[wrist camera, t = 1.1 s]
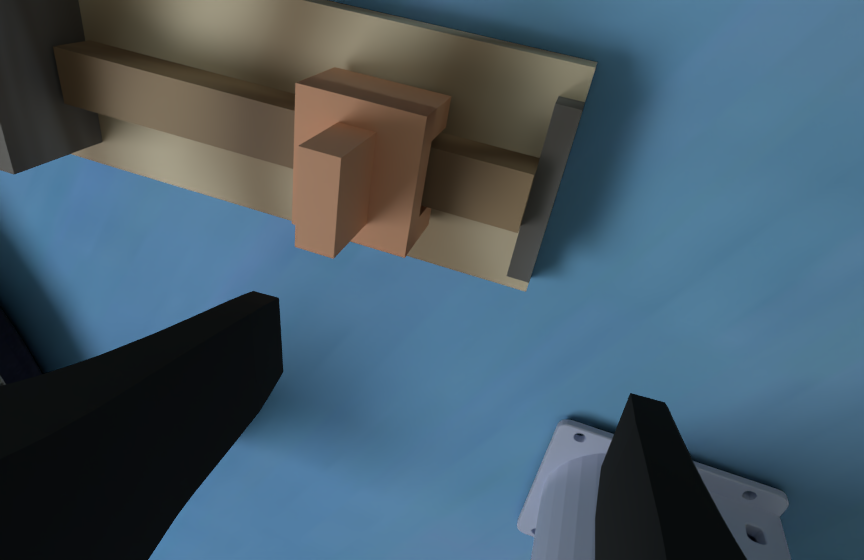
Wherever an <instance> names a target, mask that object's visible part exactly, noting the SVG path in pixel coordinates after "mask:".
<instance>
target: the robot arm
mask: <svg viewBox="0 0 864 560" xmlns="http://www.w3.org/2000/svg"><path fill="white" fill-rule="evenodd" d="M282 373H283V359H282V342H281V325H280V308H279V298H277V297H273V296H270V295H266V294H262V293H258V292H255V291H252V292H249V293H247V294H244V295H241V296H239V297H237V298H234V299H232V300H229V301H227V302H225V303H223V304H220V305H218V306H216V307H214V308H211V309H209V310H207V311H205V312H202V313H200V314H198V315H196V316H193V317H191V318H189V319H187V320H184V321H182V322H180V323H177V324H175V325H173V326H171V327H168V328H166V329H164V330H161V331H159V332H157V333H154V334H152V335H149V336H147V337H144V338H142V339H139V340H137V341H134V342H132V343H129V344H127V345H124V346H122V347H119V348H117V349H114V350H112V351H109V352H107V353H104V354H102V355H99V356H96V357H93V358H90V359H88V360H85V361H82V362H79V363H76V364H73V365H70V366H67V367H64V368H61V369H58V370H54V371H51V372H48V373H45V374H42V375H39V376H35V377H32V378H28V379H25V380H21V381H17V382H14V383H10V384H6V385H2V386H0V560H148V559H149V558H150V556H151V554H152V553H153V551H154V550H155V548H156V547H157V545H158V544H159V542H160V541H161V539H162V538H163V536H164V535H165V533H166V532H167V530H168V529H169V527H170V526H171V524H172V523H173V521H174V519H175V518H176V517H177V515H178V514H179V512H180V511H181V510H182V508H183V507H184V506H185V504H186V503H187V502H188V500H189V499H190V498H191V496H192V495H193V494H194V493H195V491H196V490H197V489H198V488H199V486H200V485H201V484H202V483H203V481H204V480H205V479H206V478H207V476H208V475H209V474H210V473H211V472H212V470H213V469H214V468H215V467H216V465H217V464H218V463H219V462H220V460H221V459H222V458H223V457H224V455H225V454H226V453H227V452H228V450H229V449H230V448H231V447H232V446H233V444H234V443H235V442H236V441H237V439H238V438H239V437H240V436H241V434H242V433H243V432H244V430H245V429H246V428H247V427H248V425H249V424H250V423H251V422H252V420H253V419H254V418H255V416H256V415H257V414H258V413H259V411H260V410H261V408H262V406H263V405H264V403H265V402H266V400H267V399H268V397H269V395H270V394H271V392H272V390H273V389H274V387H275V385H276V383H277V382H278V380H279V378H280V377H281V375H282ZM577 433H581V434H583V436H580V435H577ZM745 491H752V492H745ZM788 506H789V502H788V498H787V495H786V494H785V493H784V492H783V491H781V490H778V489H775V488H773V487H770V486H767V485H764V484H761V483H758V482H755V481H752V480H749V479H746V478H743V477H740V476H737V475H734V474H731V473H728V472H725V471H722V470H719V469H716V468H713V467H710V466H707V465H704V464H701V463H698V462H695V461H693V460H692V458H691V456H690V454H689V452H688V450H687V448H686V446H685V443H684V441H683V439H682V437H681V435H680V433H679V430H678V428H677V426H676V424H675V422H674V420H673V417H672V415H671V413H670V411H669V409H668V407H667V405H666V404H665V402H661V401H657V400H654V399H650V398H646V397H643V396H639V395H635V394H632V393H630V395H629V398H628V401H627V403H626V406H625V408H624V411H623V413H622V416H621V418H620V421H619V423H618V426H617V428H616V431H615V433H614V434H612V433H609V432H606V431H603V430H600V429H597V428H594V427H591V426H588V425H585V424H582V423H579V422H576V421H573V420H568V419H566V420H562V421H560V422H559V423H558V425H557V427H556V429H555V432H554V434H553V437H552V439H551V441H550V444H549V446H548V448H547V451H546V453H545V456H544V458H543V460H542V463H541V465H540V468H539V470H538V472H537V475H536V477H535V480H534V482H533V484H532V487H531V489H530V492H529V494H528V496H527V499H526V501H525V504H524V506H523V508H522V511H521V513H520V515H519V518H518V522H517V527H518V529H519V530H520V531H521V532H523V533H525V534H527V535H530V536H533V537H534V542H533V549H532V555H531V560H791V556H790V553H789V549H788V545H787V541H786V538H785V534H784V530H783V527H782V523H781V519H780V516H781V515H782V514H783V512H784V511H785V510H786V509H787V508H788Z"/></svg>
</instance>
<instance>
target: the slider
mask: <svg viewBox="0 0 864 560" xmlns="http://www.w3.org/2000/svg"><path fill="white" fill-rule="evenodd" d="M450 102H451V96H449V95H445V94H441V93H437V92H433V91H429V90H425V89H421V88H417V87H413V86H409V85H405V84H401V83H397V82H393V81H389V80H385V79H381V78H377V77H373V76H369V75H365V74H361V73H357V72H353V71H349V70H345V69H341V68H337V67H334V68H331V69H329V70H326V71H324V72H321V73H319V74H316V75H314V76H311V77H309V78H306V79H304V80H301V81H299V82H296V83H295V120H294V159H293V198H292V224H295V225H296V226H295V247H298V248H301V249H304V250H307V251H311V252H314V253H317V254H320V255H323V256H327V257H330V258H333V259H334V258H335V257H336V255H337V254H338V253H339V252H340V251H341V250H342V249H343V248H344V247H345V246H346V245H347V244H348V243H349V242H350V241H351V242H354V243H357V244H361V245H364V246H367V247H370V248H374V249H377V250H380V251H384V252H387V253H390V254H394V255H397V256H400V257H403V258H405V257H406V255H407V254H408V252H409V251H410V250H411V248H412V247H413V246H414V244H415V243H416V241H417V240H418V239H419V237H420V236H421V234H422V233H423V232H424V230H425V229H426V228H427V226H428V225H429V219H430V214H431V208H428V207H424V206H421V202H422V196H423V190H424V184H425V178H426V172H427V166H428V160H429V154H430V148H431V142H432V140H433V139H434V138H435V137H436V136H438V135H439V134H440V133H441V132H442V131H443V130H444V129H445V128H446V124H447V119H448V113H449V108H450Z"/></svg>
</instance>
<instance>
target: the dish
mask: <svg viewBox="0 0 864 560" xmlns="http://www.w3.org/2000/svg"><path fill="white" fill-rule="evenodd" d="M39 375H42V373H41V371H40V369H39V367H38V366H37V364H36V362H35V361H34V359H33V357H32V355H31V354H30V352H29V350H28V349H27V347H26V345H25V344H24V342H23V341H22V339H21V338H20V336H19V334H18V333H17V331H16V330H15V328H14V327H13V325H12V324H11V322H10V321H9V319H8V318H7V316H6V315H5V314H4V312H3V311H2V309H1V308H0V386H2V385H6V384H10V383H14V382H17V381H21V380H25V379H28V378H32V377H35V376H39Z"/></svg>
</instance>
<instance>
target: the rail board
mask: <svg viewBox="0 0 864 560" xmlns="http://www.w3.org/2000/svg"><path fill="white" fill-rule="evenodd" d="M596 65H597V62H594V61H590V60H586V59H581V58H577V57H573V56H568V55H564V54H560V53H555V52H551V51H546V50H542V49H538V48H533V47H529V46H525V45H520V44H516V43H512V42H507V41H503V40H498V39H494V38H490V37H485V36H481V35H477V34H472V33H468V32H464V31H459V30H455V29H451V28H446V27H442V26H437V25H433V24H429V23H424V22H420V21H416V20H411V19H407V18H403V17H398V16H394V15H389V14H385V13H381V12H376V11H372V10H368V9H363V8H359V7H355V6H350V5H346V4H341V3H337V2H333V1H328V0H0V170H2V171H5V172H8V173H11V174H17V173H19V172H22V171H25V170H28V169H30V168H33V167H36V166H39V165H41V164H44V163H47V162H50V161H52V160H55V159H58V158H60V157H63V156H66V155H69V154H72V155H76V156H79V157H82V158H86V159H89V160H92V161H96V162H99V163H102V164H106V165H109V166H112V167H115V168H119V169H122V170H125V171H129V172H132V173H135V174H139V175H142V176H145V177H148V178H152V179H155V180H158V181H162V182H165V183H168V184H172V185H175V186H178V187H182V188H185V189H188V190H191V191H195V192H198V193H201V194H205V195H208V196H211V197H215V198H218V199H221V200H225V201H228V202H231V203H234V204H238V205H241V206H244V207H248V208H251V209H254V210H258V211H261V212H264V213H268V214H271V215H274V216H277V217H281V218H284V219H287V220H291V221H292V198H293V159H294V120H295V83H296V82H299V81H301V80H304V79H306V78H309V77H311V76H314V75H316V74H319V73H321V72H324V71H326V70H329V69H331V68H334V67H337V68H341V69H345V70H349V71H353V72H357V73H361V74H365V75H369V76H373V77H377V78H381V79H385V80H389V81H393V82H397V83H401V84H405V85H409V86H413V87H417V88H421V89H425V90H429V91H433V92H437V93H441V94H445V95H449V96H451V102H450V108H449V113H448V119H447V124H446V128H445V129H444V130H443V131H442V132H441V133H440V134H439V135H438V136H436V137H435V138H434V139H433V140H432V142H431V148H430V154H429V160H428V166H427V172H426V178H425V184H424V190H423V196H422V202H421V206H424V207H428V208H431V214H430V219H429V225H428V226H427V228H426V229H425V230H424V232H423V233H422V234H421V236H420V237H419V239H418V240H417V241H416V243H415V244H414V246H413V247H412V248H411V250H410V251H409V252H408V254H407V255H406V256H410V257H413V258H416V259H420V260H423V261H426V262H429V263H433V264H436V265H439V266H443V267H446V268H449V269H453V270H456V271H459V272H463V273H466V274H469V275H472V276H476V277H479V278H482V279H486V280H489V281H492V282H496V283H499V284H502V285H506V286H509V287H512V288H515V289H519V290H522V291H525V292H526V290H527V287H528V283H529V281H530V278H531V274H532V271H533V268H534V265H535V262H536V258H537V255H538V252H539V249H540V246H541V242H542V239H543V236H544V233H545V230H546V226H547V223H548V220H549V217H550V214H551V210H552V207H553V204H554V201H555V198H556V194H557V191H558V188H559V185H560V182H561V178H562V175H563V172H564V169H565V166H566V162H567V159H568V156H569V153H570V150H571V146H572V143H573V140H574V137H575V134H576V130H577V127H578V124H579V121H580V118H581V114H582V111H583V108H584V104H585V101H586V98H587V94H588V91H589V88H590V85H591V81H592V78H593V75H594V72H595V69H596Z"/></svg>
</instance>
